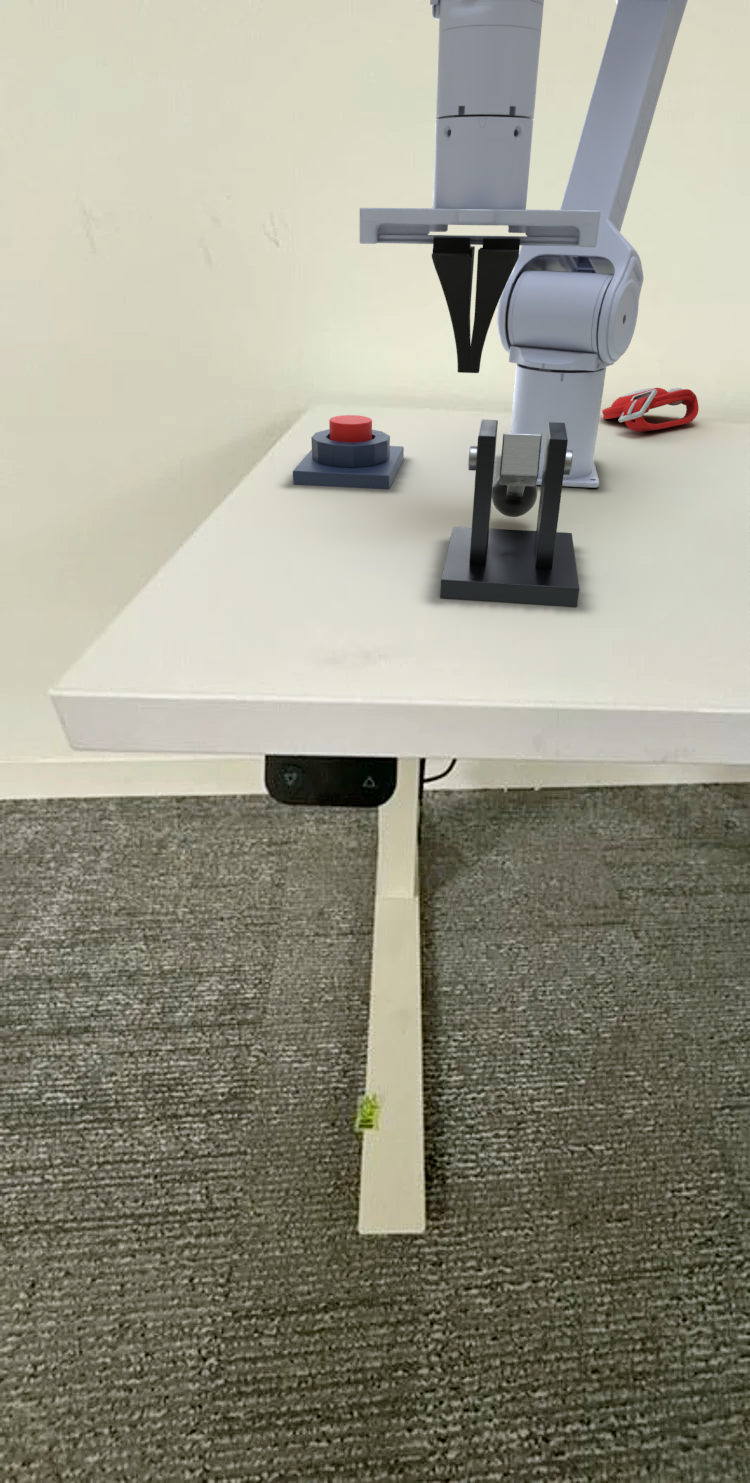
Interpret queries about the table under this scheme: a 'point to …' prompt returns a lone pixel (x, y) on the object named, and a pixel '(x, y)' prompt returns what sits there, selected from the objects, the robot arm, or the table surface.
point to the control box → (350, 462)
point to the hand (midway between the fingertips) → (468, 370)
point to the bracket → (514, 537)
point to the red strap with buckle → (651, 407)
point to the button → (350, 428)
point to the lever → (517, 474)
